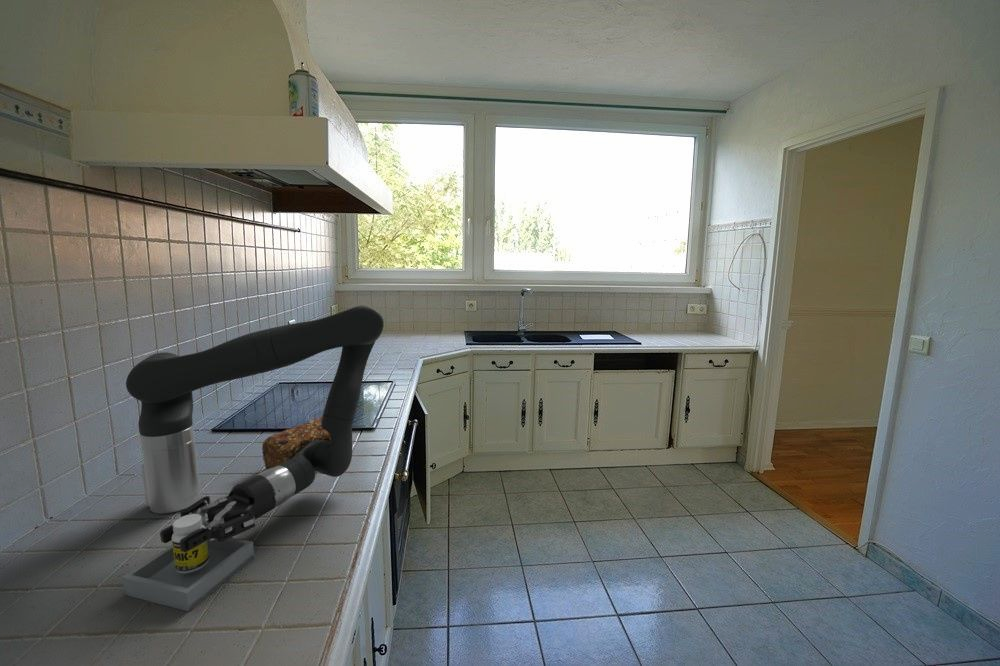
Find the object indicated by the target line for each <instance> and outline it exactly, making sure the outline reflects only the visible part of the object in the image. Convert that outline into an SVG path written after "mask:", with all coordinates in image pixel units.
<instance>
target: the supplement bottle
mask: <svg viewBox="0 0 1000 666" xmlns="http://www.w3.org/2000/svg"><path fill="white" fill-rule="evenodd" d="M172 525H173V532H174V533H173V535H172V540H171V545H172V546H173V553H174V560H175V568H176V571H177V572H178V573H182V574H186V573H191V572H194V571H197V570H199V569H201V568H202V567H204V566H205V565H206V564H207V563H208V561H209V553H208V544H207V541H205V542H204V543H202V544H200V545H198V546H196V547H195V548H193V549H191V550H189V551H187V552H183V551H181V548H180V540H181V539H182V538H184V537H186V536H188V535H190V534H192V533H193V532H195V531H197V530H199V529H201V528H202V527H203V528H205V529H206V527H205V526H204V525H202V518H201V516H200V515H199V514H191V513H190V514H189V515H186V516H183V517H181V516H180V517H178V518H177V519H176V520H174V522H173V523H172Z"/></svg>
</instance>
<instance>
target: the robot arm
mask: <svg viewBox="0 0 1000 666" xmlns="http://www.w3.org/2000/svg"><path fill="white" fill-rule="evenodd" d="M384 326H385V325H384V318H383V316H382V314H381V313H380V312H379V310H377V309H376V308H374V307H372V306H368V305H363V304H362V305H357V306H354V307H351V308H347V309H345V310H343V311H340V312H336V313H335V314H331V315H328V316H325V317H322V318H319V319H318V318H317V319H313V320H309V321H302V322H295V323H290V324H285V325H279V326H275V327H270V328H265V329H261V330H257V331H253V332H250V333H247V334H244V335H240V336H237V337H235V338H232V339H229V340H227V341H224V342H222V343H220V344H218V345H215V346H213V347H211V348H209V349H205V350H202V351H199V352H194V353H190V354H184V355H177V354H175V353H173V352H165V351H164V352H157V353H154V354H151V355H149V356H147V357H146V358H144V359H142V360H141V361H139V362H138V363H137V364H136V365H134V366H133V367H132V369H131V370H130V372H129V373H128V375H127V378H126V382H125V387H126V390H127V392H128V394H129V395H130V396H131V397H133V398H134V399H136V400H138V401H140V402H141V404H140V405H141V408H140V416H139V418H138V431H139V439H140V446H141V453H142V454H141V455H142V461H143V464H142V465H141V466H140V467H141V475H142V480H143V491H144V495H145V505H146V507H148V508H149V511H151V513H153V514H162V515H164V514H172V513H175V512H176V513H177V512H179V511H181V512H180V517H183V516H186V515H189V514H199V515H200V516H201V518H202V525H204V526H205V528H203V527H202V528H201V529H199V530H197V531H195V532H193V533H192V534H190V535H188V536H186V537H184V538H182V539H181V540H180V548H181V551H183V552H187V551H189V550H191V549H193V548H195V547H196V546H198V545H200V544H202V543H204V542H205V541H207V540H208V541H212V540H214V539H218V541H219V542H221V541H224V540H226V539H229V538H231V537H232V538H234V537H236V536H237V535H240V534H242V533H245V532H247V531H249V530H251V529H253V528H255V527H256V520H257V519H259V518H260V517H263V516H264V515H266V514H267V513H269V512H271V511H272V510H274V509H275V508H277V507H280V506H281V505H283V504H284V503H285V502H286V501H288V500H289V499H290V498H293V496H296V495H297V494H299V493H301V492H302V491H304V490H305V489H307V488H308V487H310V486H311V485H312V484H313V483H314V481H315V479H316V472H317V473H320V474H323V475H326V476H328V477H333V478H334V477H335V478H337V477H340V476H342V475H343V474H345V473H346V471H347V470H348V469H349V467H350V466H351V462H352V457H353V424H354V420H355V418H356V414H357V409H358V405H359V401H360V397H361V390H362V384H363V379H364V374H365V370H366V367H367V364H368V363H367V362H368V360H369V358H370V354H371V352H372V350H373V348H374V346H375V344H376V341H377V340H379V337H381V335H382V333H383V330H384ZM338 348H341V353H340V357H339V362H338V366H337V370H336V371H335V372H336V373H335V375H334V377H333V381H332V383H331V387H330V389H329V392H328V395H327V398H326V401H325V405H324V409H323V413H322V416H321V417H322V420H321V426H322V428H323V429H325V430H326V431H328V432H329V434H330V440H331V442H329V441H325V440H318V441H314V442H311V443H309V444H308V445H307V446H305V447H304V448H303V449H302V450H301V451H300V452H298V453H297V454H296V455H295V456H294V457H293V458H292V459H290V460H288V461H286V462H284V463H282V464H280V465H278V466H276V467H273V468H270V469H265V470H264V471H261V472H259V473H257V474H255V475H254V476H251V477H249V478H247V479H245V480H243V481H240V482H239V483H237V484H235V485H234V486H233V487H232V488H231V490H230V492H229V493H228V495H227V496H224V497H221V498H217V499H216V500H211V498H210V497H211V496H208V495H206V496H203V497H202V498H201V496H202V493H201V492H202V491H201V484H200V483H201V482H200V475H199V473H200V472H199V465H198V457H197V449H196V448H197V446H196V441H195V440H196V438H195V432H194V431H195V430H194V423H193V413H194V399H193V398H194V397H193V392H194V391H197V390H199V389H202V388H205V387H209V386H211V385H215V384H219V383H224V382H225V383H226V382H228V381H233V380H238V379H239V380H240V379H242V378H247V377H251V376H255V375H259V374H264V373H267V372H271V371H275V370H279V369H282V368H285V367H288V366H291V365H295V364H297V363H300V362H302V361H305V360H307V359H309V358H311V357H315V356H316V355H318V354H321V353H323V352H327V351H329V350H333V349H338ZM206 515H207V520H206ZM231 528H232V529H231ZM230 529H231V530H230ZM229 530H230V531H229ZM173 533H174V532H173V524H171V525H169V526H167V527H166V528H163V529H161V531H160V532H159V536H160V537H159V538H160V542H161V543H164V544H167V543H169V542H172V535H173Z"/></svg>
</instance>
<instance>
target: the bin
mask: <svg viewBox="0 0 1000 666" xmlns="http://www.w3.org/2000/svg"><path fill="white" fill-rule="evenodd" d="M207 544H208V553H209V561H208V563H207V564H206V565H205V566H204V567H202V568H201V569H199V570H197V571H194V572H191V573H186V574H182V573H178V572H177V571H176V568H175V560H174V553H173V546H172V544H171V545H170V546H168V547H167V548H165V549H163V550H162V551H160V552H159V553H158V554H156V555H154V556H153V557H152V558H151V557H150V559H148V560H147V561H144V563H142V564H141V565H139V566H137V567H136V568H135V569H133V570H132V571H130V572H128V573H127V574H125V575H123V576H121V577H122V584H123V589H124V596H128V597H132V598H136V599H139V600H144V601H147V602H150V603H154V604H159V605H162V606H166V607H170V608H173V609H178V610H181V611H185V612H191V611H192V610H193V609H194V608H195V607H197V606H198V605H199V604H201V602H203V601H204V600H205V599H206V598H208V597H209V596H210V595H211V594H212V593H213V592H215V591H216V590H217V589H219V588H220V586H222V585H223V584H225V583H226V582H227V581H228V580H230V578H232V577H233V576H234V575H235V574H236V573H238V572H239V571H240V570H241V569H243V568H244V567H245V566H246V565H248V564H249V563H250V562H251V561H252V560H254V559H255V551H254V542H253V541H251V540H247V539H246V540H245V539H240V538H236V537H231V538H229V539H226V540H224V541H221V542H219V541H218V539H214V540H212V541H208V540H207Z"/></svg>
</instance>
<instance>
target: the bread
mask: <svg viewBox="0 0 1000 666" xmlns="http://www.w3.org/2000/svg"><path fill="white" fill-rule="evenodd" d="M321 420H322V416H321V417H319V418H314V419H311V420H309V421H307V422H303V423H301V424H299V425H295V426H294V427H291V428H289V429H286V430H285V429H284V430H283V431H280V432H277V433H275V434H273V435H270V436H268V437H267V438H266V439H264V441H263V443H262V446H261V447H262V449H261V450H262V460H263V463H264V466H265V469H266V470H268V469H270V468H273V467H276V466H278V465H280V464H282V463H284V462H286V461H288V460H290V459H292V458H293V457H294V456H295V455H296V454H297V453H298V452H300V451H301V450H302V449H303V448H304V447H305V446H307V445H308V444H309V443H311V442H314V441H318V440H325V441H329V442H331V440H330V434H329V432H328V431H326V430H325V429H323V428H322V426H321Z"/></svg>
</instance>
